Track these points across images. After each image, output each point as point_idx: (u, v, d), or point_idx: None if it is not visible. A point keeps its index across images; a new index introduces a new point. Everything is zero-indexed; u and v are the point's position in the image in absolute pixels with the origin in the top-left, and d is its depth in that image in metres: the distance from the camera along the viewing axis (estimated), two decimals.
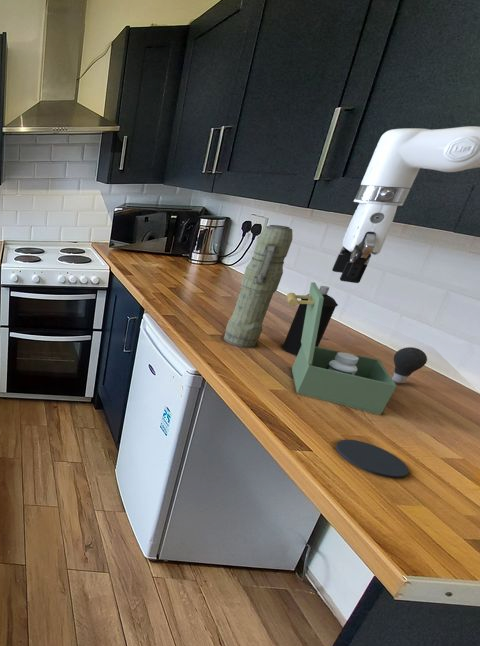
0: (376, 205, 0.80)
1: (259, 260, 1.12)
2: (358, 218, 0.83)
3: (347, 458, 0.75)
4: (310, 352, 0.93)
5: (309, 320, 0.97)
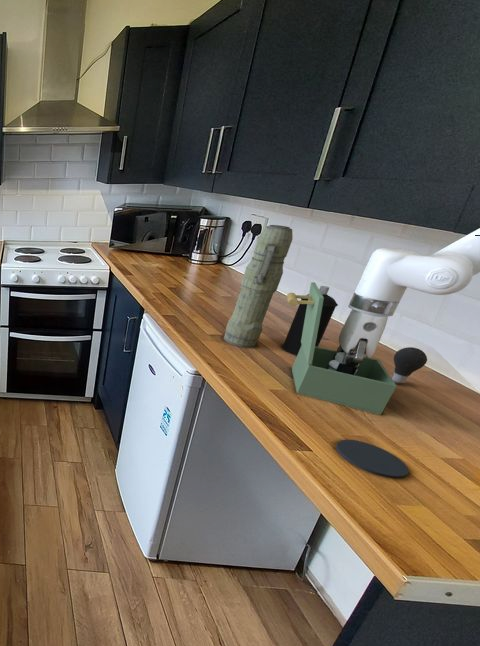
0: (368, 315, 0.87)
1: (259, 260, 1.12)
2: (352, 323, 0.91)
3: (347, 458, 0.75)
4: (310, 352, 0.93)
5: (309, 320, 0.97)
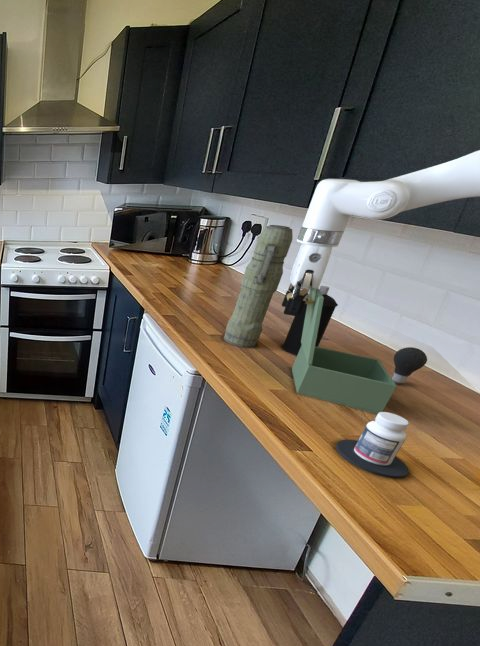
0: (313, 246, 0.89)
1: (259, 260, 1.12)
2: (300, 256, 0.92)
3: (347, 458, 0.75)
4: (310, 352, 0.93)
5: (309, 320, 0.97)
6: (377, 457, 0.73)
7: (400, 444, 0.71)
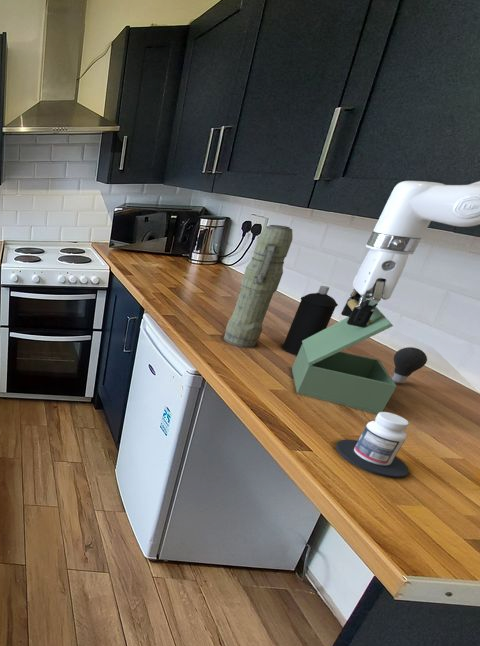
0: (388, 253, 0.83)
1: (259, 260, 1.12)
2: (370, 264, 0.86)
3: (347, 458, 0.75)
4: (322, 356, 0.92)
5: (342, 332, 0.94)
6: (377, 457, 0.73)
7: (400, 444, 0.71)
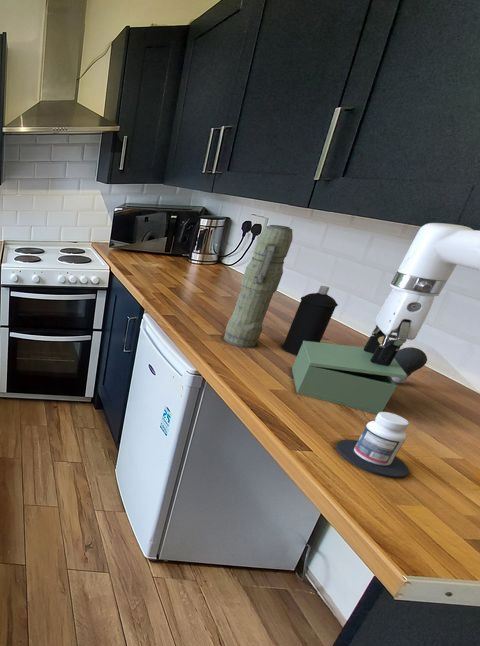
0: (413, 295, 0.83)
1: (259, 260, 1.12)
2: (394, 304, 0.86)
3: (347, 458, 0.75)
4: (326, 365, 0.92)
5: (351, 356, 0.95)
6: (377, 457, 0.73)
7: (400, 444, 0.71)
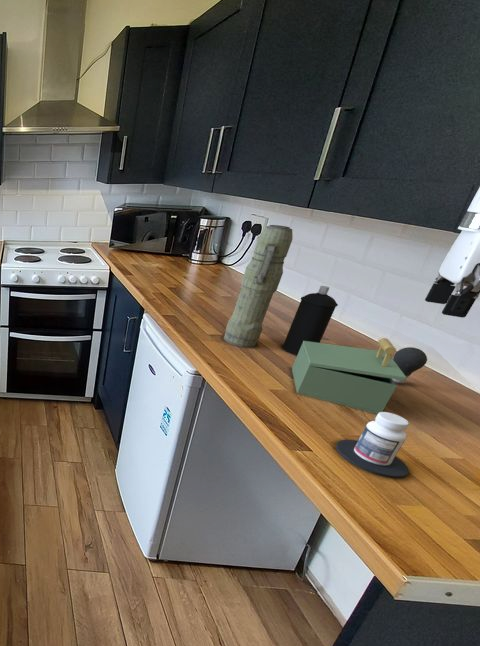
0: None
1: (259, 260, 1.12)
2: (465, 247, 0.77)
3: (347, 458, 0.75)
4: (326, 365, 0.92)
5: (351, 357, 0.95)
6: (377, 457, 0.73)
7: (400, 444, 0.71)
